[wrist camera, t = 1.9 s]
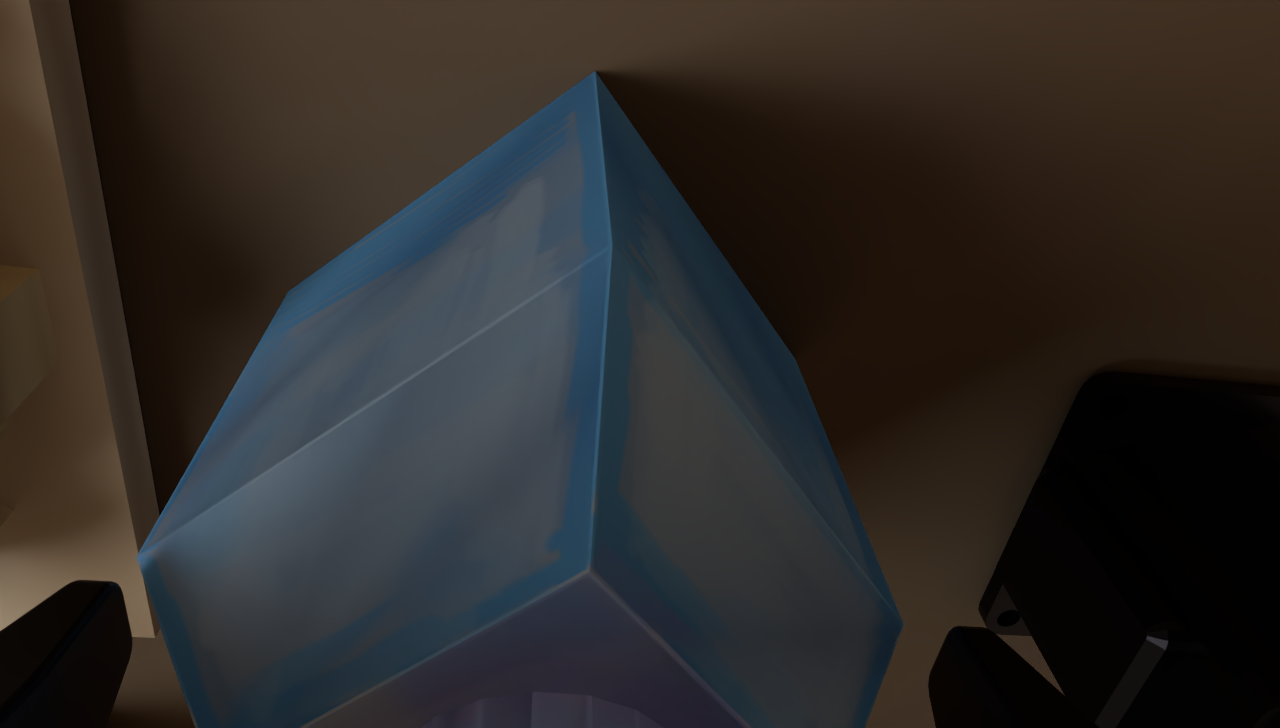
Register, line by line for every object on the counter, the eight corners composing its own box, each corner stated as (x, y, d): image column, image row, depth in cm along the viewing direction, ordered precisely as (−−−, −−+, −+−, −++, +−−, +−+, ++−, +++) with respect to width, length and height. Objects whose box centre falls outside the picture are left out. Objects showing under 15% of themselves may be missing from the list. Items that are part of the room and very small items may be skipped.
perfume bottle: (521, 517, 18) (459, 1475, 8) (288, 290, 15) (-317, 1347, 5) (795, 358, 16) (1175, 1288, 6) (595, 71, 13) (679, 932, 3)
